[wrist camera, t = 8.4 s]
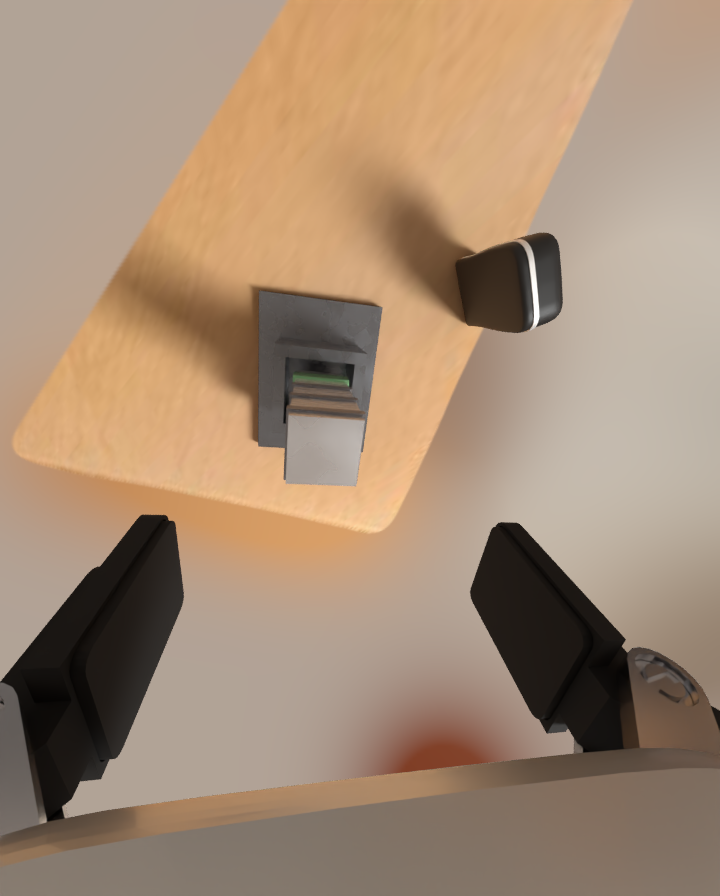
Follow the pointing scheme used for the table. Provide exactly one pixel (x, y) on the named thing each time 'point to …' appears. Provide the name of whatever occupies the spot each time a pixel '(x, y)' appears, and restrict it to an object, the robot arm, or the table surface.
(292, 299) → the stand
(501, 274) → the battery charger
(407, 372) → the table surface
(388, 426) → the table surface
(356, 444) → the column
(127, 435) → the table surface
